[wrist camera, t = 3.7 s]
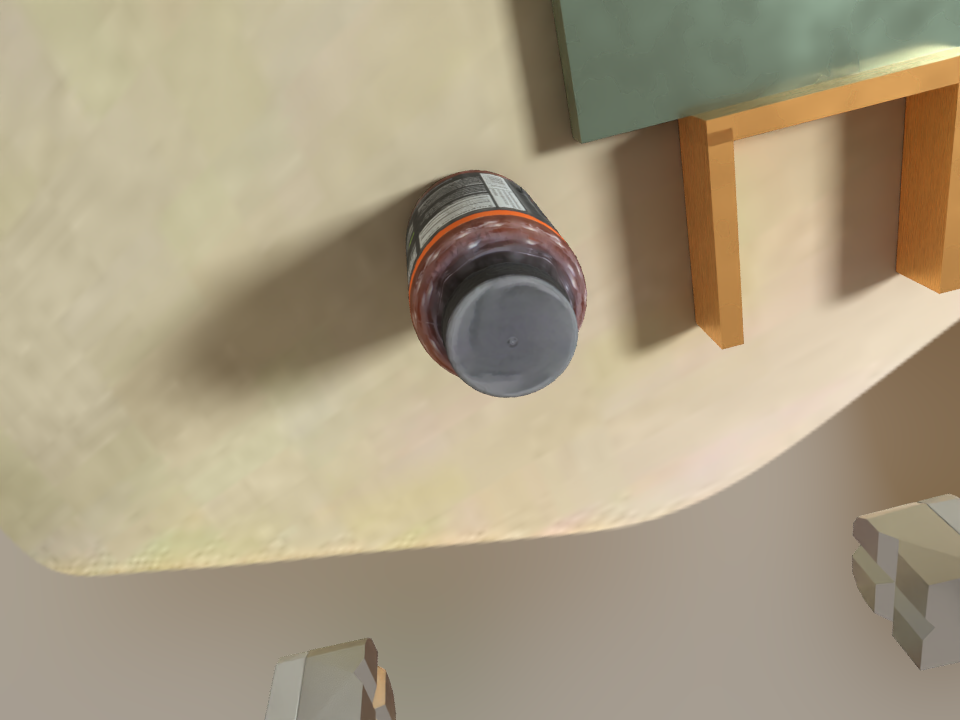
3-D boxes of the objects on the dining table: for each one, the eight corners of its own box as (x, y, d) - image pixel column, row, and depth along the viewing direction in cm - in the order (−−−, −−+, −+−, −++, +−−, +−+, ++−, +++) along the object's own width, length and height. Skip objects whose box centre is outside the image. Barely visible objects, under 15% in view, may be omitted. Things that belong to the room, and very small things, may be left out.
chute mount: (605, 345, 33) (624, 374, 31) (516, -220, 23) (532, -250, 21) (1005, 243, 33) (1059, 263, 31) (1089, -367, 23) (1178, -416, 21)
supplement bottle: (552, 277, 32) (627, 400, 22) (427, 313, 32) (443, 452, 22) (523, 148, 29) (593, 219, 19) (386, 187, 29) (383, 280, 19)
